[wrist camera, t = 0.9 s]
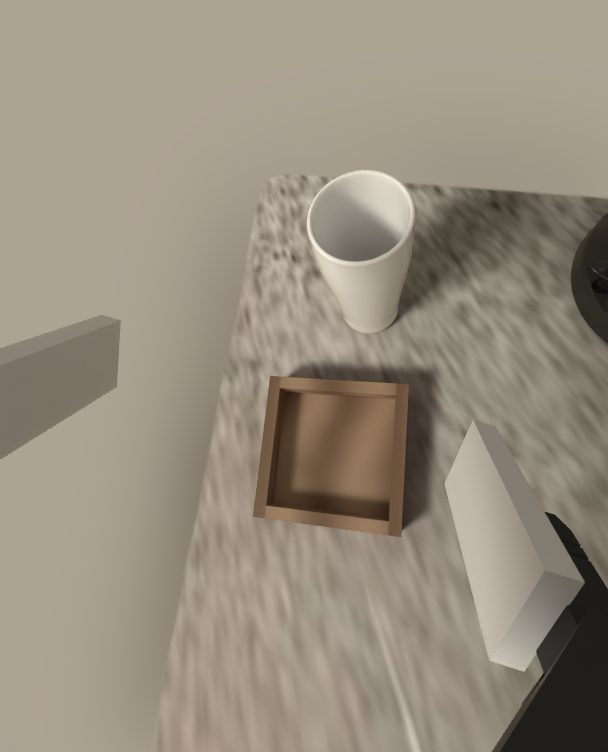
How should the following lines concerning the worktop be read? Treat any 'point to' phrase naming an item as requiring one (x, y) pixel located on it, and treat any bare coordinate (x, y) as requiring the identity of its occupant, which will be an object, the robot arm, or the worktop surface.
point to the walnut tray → (334, 454)
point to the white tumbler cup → (364, 244)
